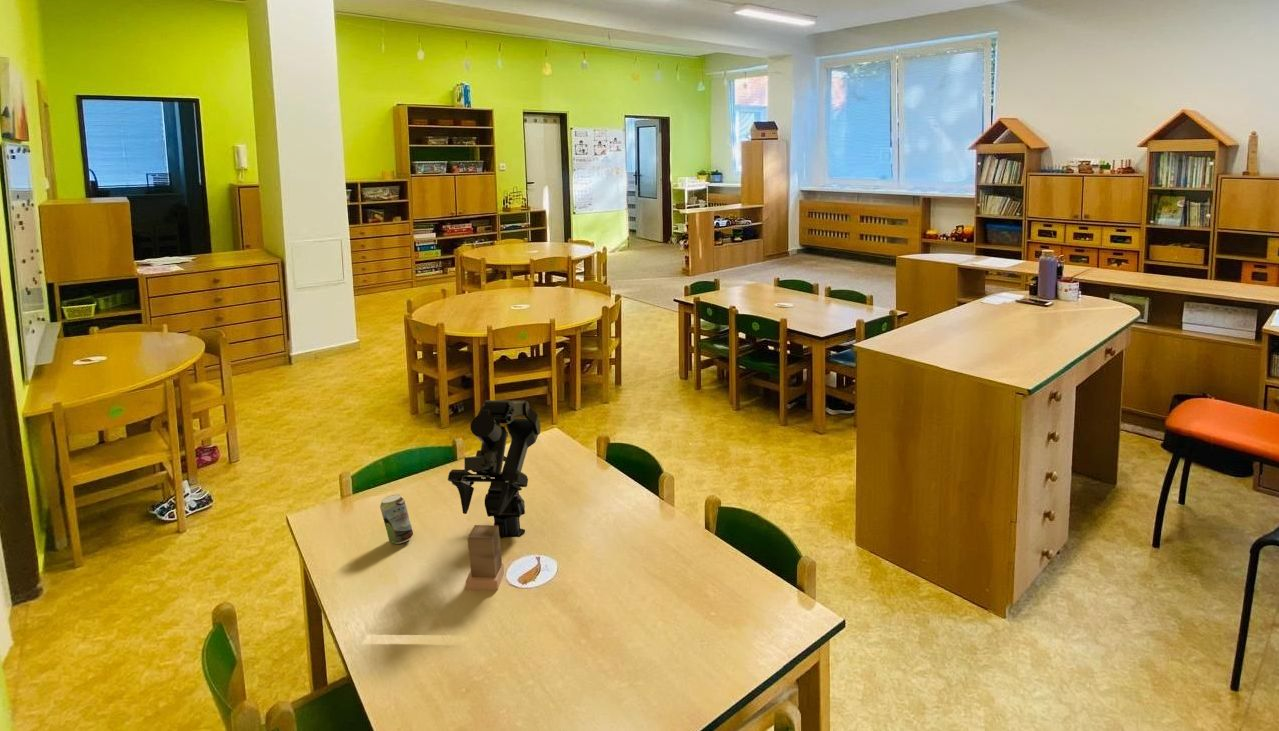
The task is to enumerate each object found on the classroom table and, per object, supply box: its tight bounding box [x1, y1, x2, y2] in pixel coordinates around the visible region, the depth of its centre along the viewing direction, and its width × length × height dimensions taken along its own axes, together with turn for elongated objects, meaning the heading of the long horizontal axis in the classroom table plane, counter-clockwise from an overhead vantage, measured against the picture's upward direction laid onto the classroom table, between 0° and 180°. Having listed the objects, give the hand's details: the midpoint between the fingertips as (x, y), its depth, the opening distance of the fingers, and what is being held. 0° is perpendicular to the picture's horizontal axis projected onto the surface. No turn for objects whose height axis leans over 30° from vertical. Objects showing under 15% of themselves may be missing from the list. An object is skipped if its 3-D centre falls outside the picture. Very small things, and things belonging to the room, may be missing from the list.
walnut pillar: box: [467, 524, 503, 578], centre depth 173 cm, size 6×6×10 cm
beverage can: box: [379, 494, 414, 545], centre depth 195 cm, size 6×7×12 cm
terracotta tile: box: [465, 563, 505, 591], centre depth 174 cm, size 7×7×2 cm
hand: (481, 514), depth 179 cm, fingers open, 9 cm apart
